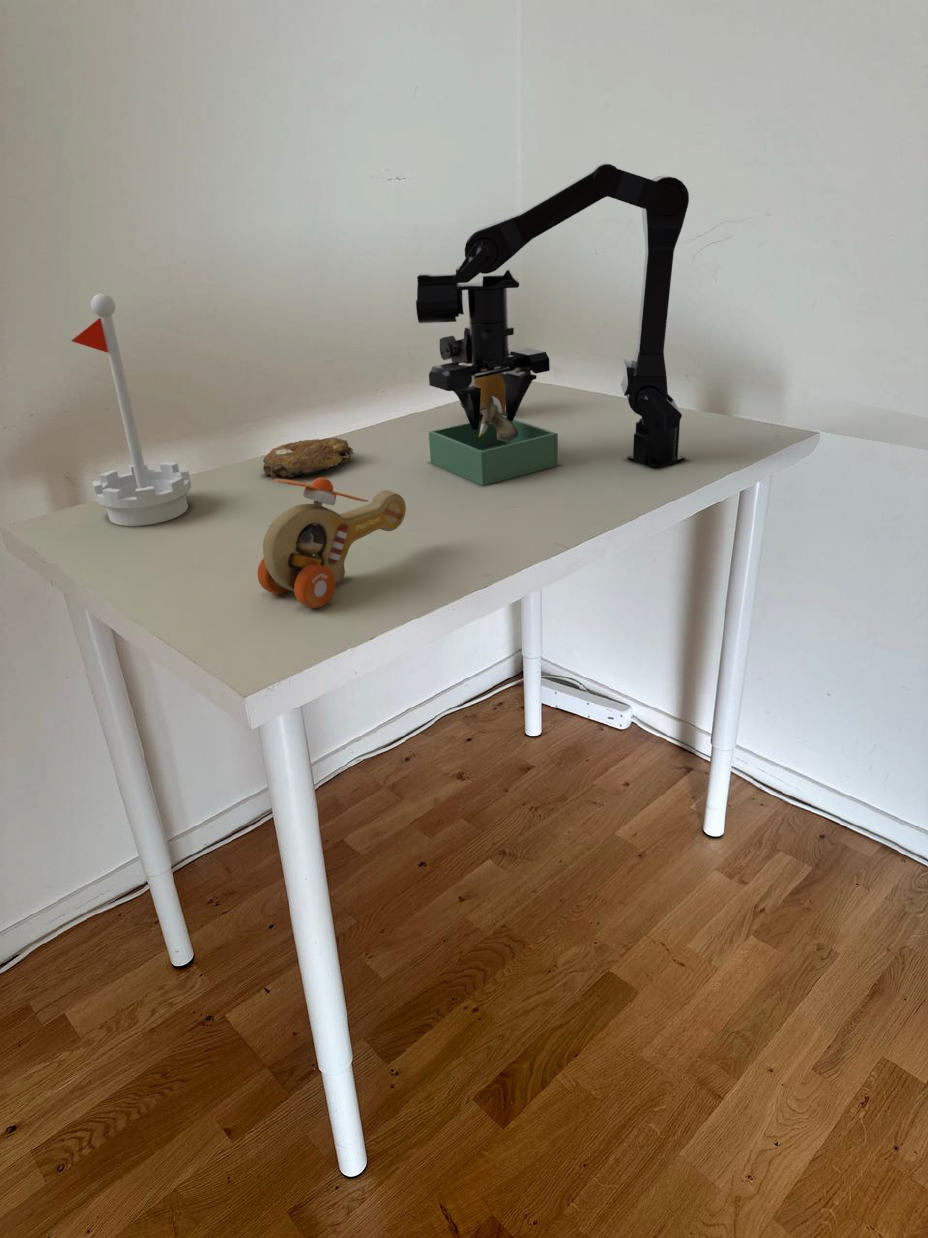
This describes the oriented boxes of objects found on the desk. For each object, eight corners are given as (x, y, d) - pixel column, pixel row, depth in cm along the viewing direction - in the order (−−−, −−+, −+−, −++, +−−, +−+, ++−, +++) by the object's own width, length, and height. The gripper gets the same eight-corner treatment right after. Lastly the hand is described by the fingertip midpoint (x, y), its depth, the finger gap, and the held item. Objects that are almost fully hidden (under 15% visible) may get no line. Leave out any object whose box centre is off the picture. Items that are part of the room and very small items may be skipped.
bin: (502, 444, 152) (501, 414, 150) (557, 465, 141) (557, 433, 139) (430, 462, 146) (428, 431, 143) (482, 485, 134) (481, 452, 132)
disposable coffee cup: (514, 420, 165) (512, 353, 159) (461, 423, 165) (458, 355, 160) (512, 407, 173) (510, 342, 168) (462, 409, 174) (459, 345, 168)
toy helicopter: (252, 600, 104) (232, 485, 97) (380, 541, 117) (370, 437, 111) (299, 619, 99) (281, 499, 92) (427, 555, 112) (420, 447, 106)
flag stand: (167, 490, 140) (124, 283, 126) (212, 508, 131) (171, 290, 117) (86, 514, 132) (30, 296, 118) (127, 536, 123) (72, 304, 109)
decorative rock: (329, 451, 155) (253, 476, 146) (324, 427, 153) (247, 451, 144) (369, 461, 147) (291, 488, 138) (365, 436, 145) (286, 462, 136)
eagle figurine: (450, 427, 142) (479, 428, 134) (466, 384, 142) (496, 383, 134) (489, 446, 146) (519, 448, 138) (505, 404, 145) (535, 404, 138)
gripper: (507, 306, 144) (510, 404, 151) (406, 323, 135) (414, 426, 142) (551, 313, 135) (552, 417, 142) (446, 332, 127) (452, 441, 134)
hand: (492, 425), depth 140 cm, fingers closed on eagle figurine, 6 cm apart
